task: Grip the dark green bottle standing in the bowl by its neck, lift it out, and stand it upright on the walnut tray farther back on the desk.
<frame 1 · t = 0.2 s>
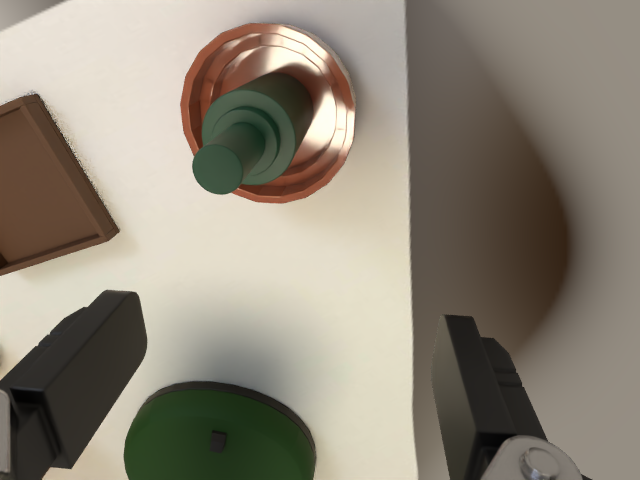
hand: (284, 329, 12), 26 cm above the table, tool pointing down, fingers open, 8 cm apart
desk lamp: (227, 426, 52), on the table
tray: (22, 189, 40), on the table
bottle: (278, 110, 34), resting on bowl
bowl: (279, 109, 35), on the table
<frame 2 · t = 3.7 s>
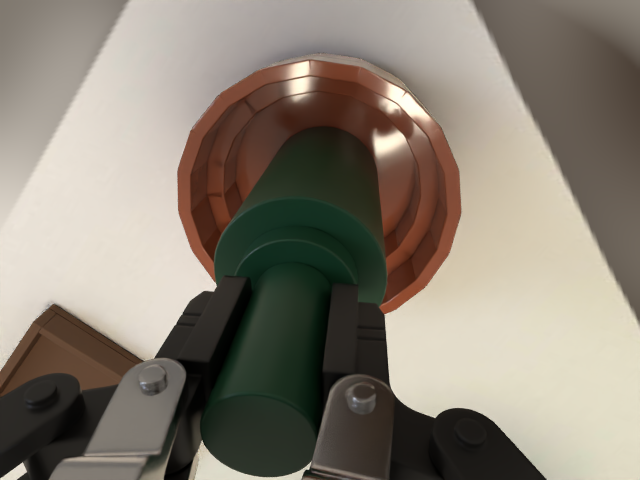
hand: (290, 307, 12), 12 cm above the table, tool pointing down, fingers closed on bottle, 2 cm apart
tray: (96, 406, 33), on the table
bottle: (324, 179, 23), point 1 cm above the table, touching gripper
bowl: (324, 177, 23), on the table
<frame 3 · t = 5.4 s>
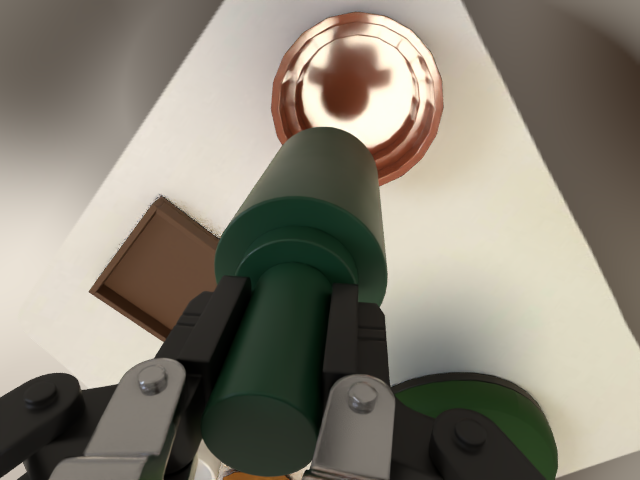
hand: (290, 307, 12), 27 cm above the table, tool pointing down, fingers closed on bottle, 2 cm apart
desk lamp: (442, 418, 51), on the table
tray: (182, 280, 45), on the table
bottle: (324, 179, 23), point 15 cm above the table, touching gripper
bowl: (356, 98, 36), on the table
teacup: (196, 428, 55), on the table
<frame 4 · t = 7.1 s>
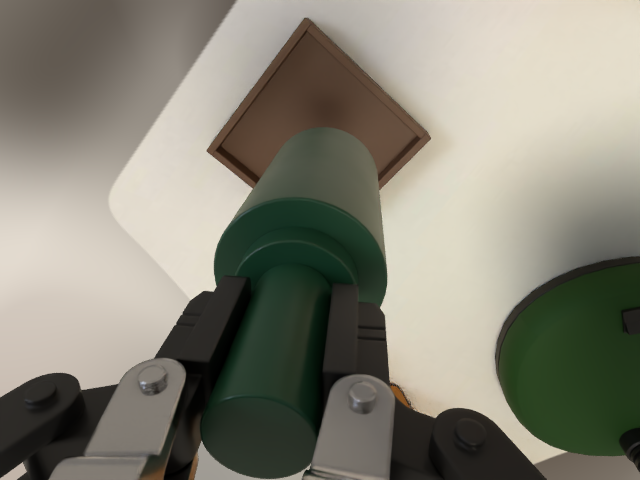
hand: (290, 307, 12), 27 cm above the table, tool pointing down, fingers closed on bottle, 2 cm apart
desk lamp: (606, 319, 43), on the table
tray: (317, 139, 37), on the table
bottle: (324, 180, 23), point 15 cm above the table, touching gripper
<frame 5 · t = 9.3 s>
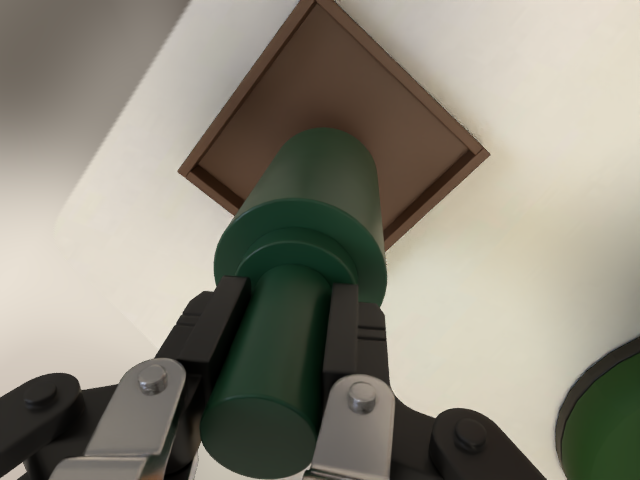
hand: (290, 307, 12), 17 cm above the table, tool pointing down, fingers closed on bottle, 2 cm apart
tray: (329, 154, 27), on the table
bottle: (324, 180, 23), point 5 cm above the table, touching gripper
when the fingers open (12 cm above the table, at t = 10.7 s): bottle stays where it is, resting on tray.
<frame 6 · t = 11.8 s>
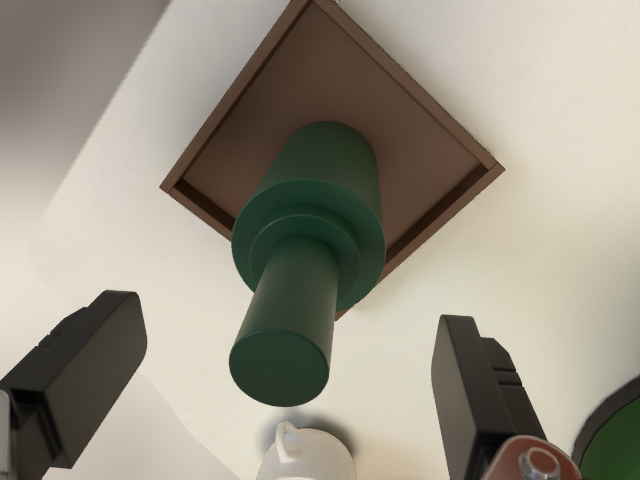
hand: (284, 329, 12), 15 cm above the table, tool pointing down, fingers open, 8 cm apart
tray: (327, 168, 25), on the table
bottle: (327, 171, 25), resting on tray
teacup: (307, 436, 35), on the table
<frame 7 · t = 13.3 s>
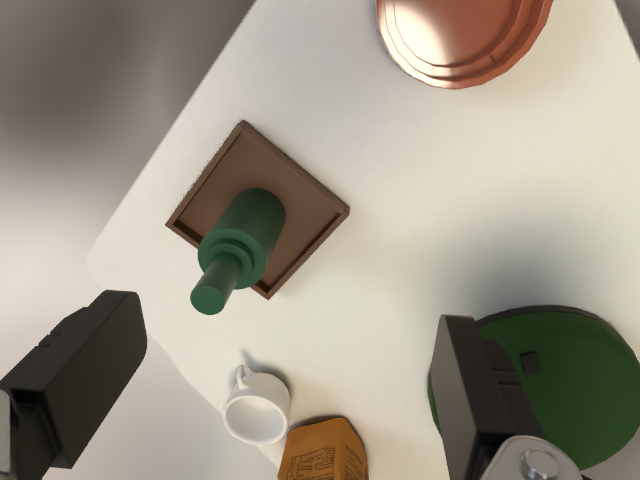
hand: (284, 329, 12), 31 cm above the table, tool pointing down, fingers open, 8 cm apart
coffee package: (329, 448, 58), on the table
desk lamp: (519, 358, 49), on the table
tray: (258, 212, 44), on the table
bottle: (258, 214, 44), resting on tray
bowl: (450, 2, 35), on the table
teacup: (261, 379, 54), on the table
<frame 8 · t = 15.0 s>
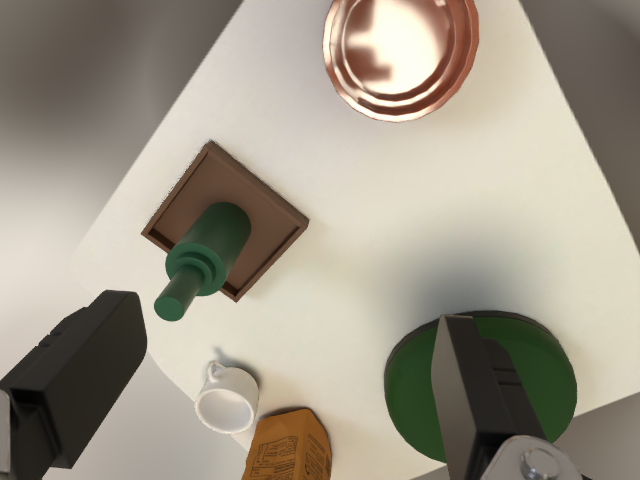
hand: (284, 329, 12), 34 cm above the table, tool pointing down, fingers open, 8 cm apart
coffee package: (296, 436, 63), on the table
desk lamp: (467, 357, 54), on the table
tray: (227, 223, 49), on the table
bottle: (226, 225, 48), resting on tray
bowl: (395, 41, 39), on the table
teacup: (233, 373, 59), on the table
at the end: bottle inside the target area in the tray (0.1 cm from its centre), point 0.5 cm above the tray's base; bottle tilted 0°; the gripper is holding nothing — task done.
